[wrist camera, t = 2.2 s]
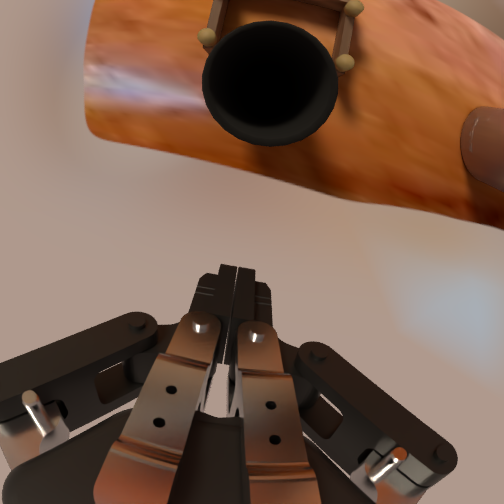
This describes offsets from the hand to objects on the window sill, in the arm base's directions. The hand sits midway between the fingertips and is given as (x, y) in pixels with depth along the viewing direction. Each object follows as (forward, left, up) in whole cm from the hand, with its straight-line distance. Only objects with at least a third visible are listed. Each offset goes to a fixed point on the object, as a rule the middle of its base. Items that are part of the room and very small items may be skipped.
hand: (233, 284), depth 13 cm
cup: (0, -9, -18) cm, 21 cm away
